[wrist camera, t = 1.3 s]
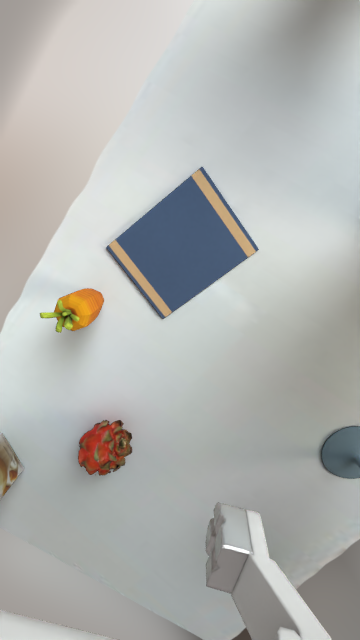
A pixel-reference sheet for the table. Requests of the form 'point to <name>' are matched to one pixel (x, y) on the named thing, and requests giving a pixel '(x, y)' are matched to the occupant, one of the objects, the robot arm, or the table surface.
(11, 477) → the coffee box
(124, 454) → the dragon fruit
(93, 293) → the carrot
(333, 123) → the table surface
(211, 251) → the napkin
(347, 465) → the cocktail glass
